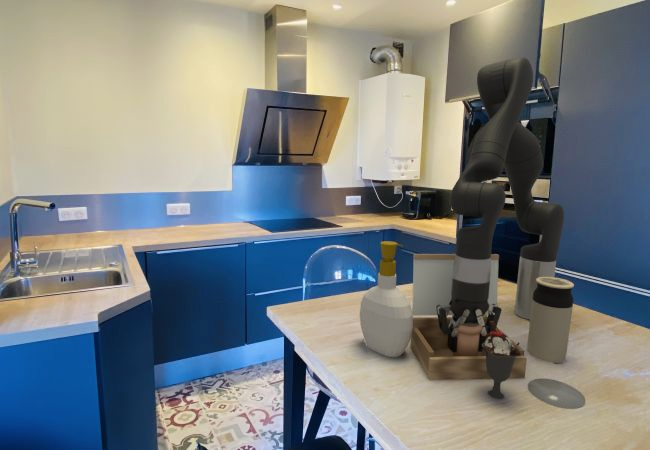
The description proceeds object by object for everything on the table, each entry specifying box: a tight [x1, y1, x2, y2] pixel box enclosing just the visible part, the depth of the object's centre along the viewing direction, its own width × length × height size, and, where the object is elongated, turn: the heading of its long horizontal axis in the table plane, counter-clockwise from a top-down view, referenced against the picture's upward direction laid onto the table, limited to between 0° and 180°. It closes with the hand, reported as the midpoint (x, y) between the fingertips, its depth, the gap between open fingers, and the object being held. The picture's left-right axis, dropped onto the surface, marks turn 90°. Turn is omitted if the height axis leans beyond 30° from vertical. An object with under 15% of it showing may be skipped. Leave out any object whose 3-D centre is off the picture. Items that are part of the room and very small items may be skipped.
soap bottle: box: [359, 240, 414, 358], centre depth 92 cm, size 14×9×26 cm, turn 41°
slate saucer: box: [527, 378, 586, 410], centre depth 77 cm, size 10×10×1 cm
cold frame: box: [409, 316, 528, 381], centre depth 88 cm, size 20×14×8 cm
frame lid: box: [411, 253, 500, 317], centre depth 93 cm, size 20×14×1 cm
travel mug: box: [526, 276, 575, 364], centre depth 91 cm, size 8×8×18 cm
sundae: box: [482, 321, 521, 400], centre depth 75 cm, size 7×7×15 cm
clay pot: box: [453, 319, 482, 357], centre depth 87 cm, size 6×6×8 cm
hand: (465, 350), depth 88 cm, fingers closed on clay pot, 5 cm apart
